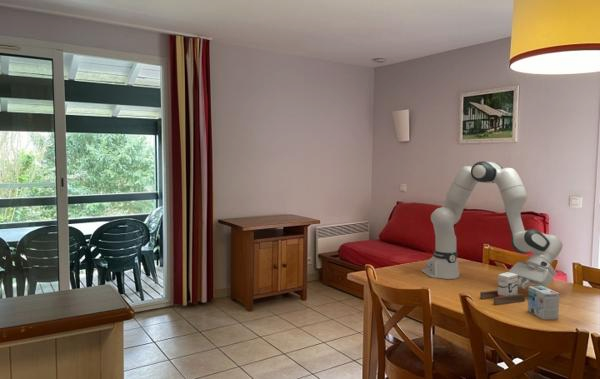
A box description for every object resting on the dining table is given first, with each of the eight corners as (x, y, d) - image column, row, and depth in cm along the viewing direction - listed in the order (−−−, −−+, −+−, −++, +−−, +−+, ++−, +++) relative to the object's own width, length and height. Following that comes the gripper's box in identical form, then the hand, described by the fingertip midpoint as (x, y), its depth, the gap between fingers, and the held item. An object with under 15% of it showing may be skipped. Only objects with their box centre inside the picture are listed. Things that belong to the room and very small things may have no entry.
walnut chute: (480, 298, 198) (480, 292, 198) (507, 294, 203) (507, 288, 203) (496, 305, 188) (496, 298, 188) (524, 301, 193) (524, 294, 193)
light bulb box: (527, 310, 181) (527, 285, 180) (542, 310, 181) (542, 285, 181) (543, 320, 170) (544, 293, 170) (559, 319, 171) (560, 292, 170)
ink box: (507, 302, 192) (507, 276, 191) (497, 299, 196) (497, 274, 195) (517, 299, 197) (518, 273, 196) (507, 296, 201) (508, 271, 200)
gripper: (516, 256, 210) (500, 277, 208) (552, 265, 191) (534, 289, 188) (523, 264, 212) (507, 285, 209) (559, 274, 192) (542, 297, 190)
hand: (520, 287), depth 198 cm, fingers closed
